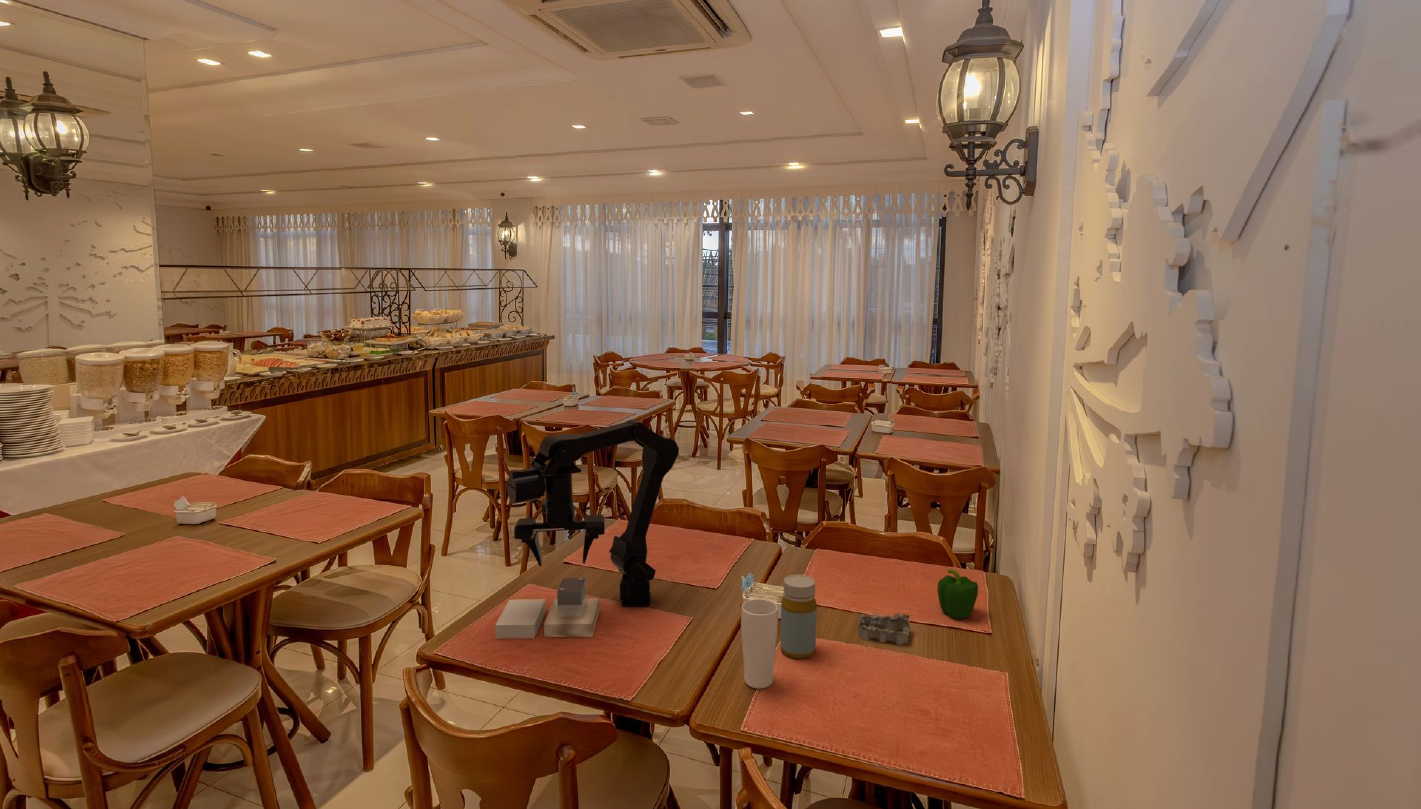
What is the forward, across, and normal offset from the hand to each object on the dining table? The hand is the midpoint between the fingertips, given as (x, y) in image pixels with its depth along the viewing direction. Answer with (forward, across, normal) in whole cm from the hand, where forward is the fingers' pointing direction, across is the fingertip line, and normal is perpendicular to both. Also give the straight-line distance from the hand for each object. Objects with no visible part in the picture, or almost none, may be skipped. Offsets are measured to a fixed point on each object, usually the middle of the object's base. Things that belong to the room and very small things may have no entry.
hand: (562, 564), depth 156 cm
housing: (+10, -2, +2) cm, 10 cm away
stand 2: (+13, -2, +2) cm, 13 cm away
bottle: (+14, -47, +19) cm, 53 cm away
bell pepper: (+14, -87, +8) cm, 88 cm away
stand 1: (+13, +9, +1) cm, 16 cm away
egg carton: (+14, -67, +15) cm, 70 cm away
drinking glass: (+13, -38, +29) cm, 49 cm away
